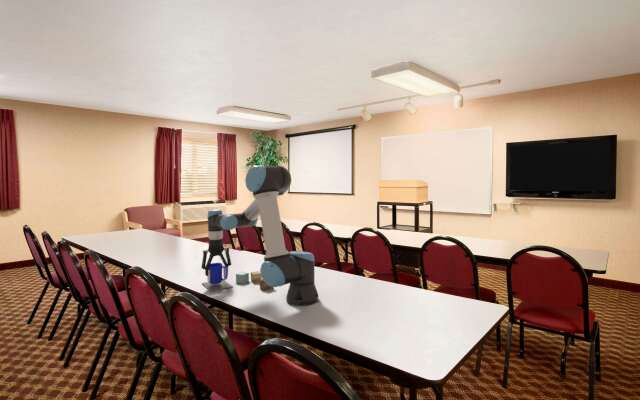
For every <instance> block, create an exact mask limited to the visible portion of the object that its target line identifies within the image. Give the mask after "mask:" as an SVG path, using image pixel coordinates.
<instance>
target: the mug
mask: <svg viewBox="0 0 640 400" xmlns="http://www.w3.org/2000/svg"><path fill="white" fill-rule="evenodd" d="M223 268H226V278H225V279H224V277H223ZM208 270H210V282H209V283H210V284H218V283H220V282H221V281H222V280H225V281H226V280H227V279H228V275H229V267H227V266H225V265H223V262H222V263H221V262H214V263H213V262H211V264H210V266H209V269H208Z"/></svg>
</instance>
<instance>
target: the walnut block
mask: <svg viewBox="0 0 640 400" xmlns="http://www.w3.org/2000/svg"><path fill="white" fill-rule="evenodd" d="M259 289H260V290H263V291H269V290H272V289H274V287H270V286H268V285H267V284H266V283H265V282H264V280H263V279H260V282H259Z"/></svg>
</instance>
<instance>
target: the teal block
mask: <svg viewBox="0 0 640 400" xmlns="http://www.w3.org/2000/svg"><path fill="white" fill-rule="evenodd" d="M249 275H250V273H249V272H248V271H246V272H245V271H240V272H238V273H235V283H236V284H243V285H244V284H246V283H248V282H249V281H250V277H249Z"/></svg>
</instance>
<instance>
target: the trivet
mask: <svg viewBox="0 0 640 400" xmlns="http://www.w3.org/2000/svg"><path fill="white" fill-rule="evenodd" d="M201 285H202V286H203V287H204V288H205V289H207V290H208V291H209V292H211V293H212V292H216V291H222V290H226V289H231V288H232V289H233V288H234V286H233V285H231V284H230V283H229V282H227V281H226V280H222V281H221V282H220V283H218V284H210V283H209V282H208V281H206V282H202V283H201Z"/></svg>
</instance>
